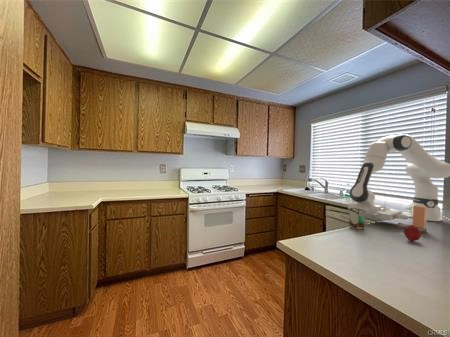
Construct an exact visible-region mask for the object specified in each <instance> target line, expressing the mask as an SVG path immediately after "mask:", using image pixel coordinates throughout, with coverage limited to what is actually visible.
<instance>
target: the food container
mask: <svg viewBox="0 0 450 337" xmlns="http://www.w3.org/2000/svg"><path fill="white" fill-rule="evenodd" d="M366 216H367V212H366V211H365V210H362V209H358V208H350V207H349V209H348V225H349V226H350V227H351V228H353V227H354V228H353V229H354V230H356V231H358V230H361V231H365V230H364V229H365V224H366V218H367V217H366Z"/></svg>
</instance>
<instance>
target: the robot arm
mask: <svg viewBox="0 0 450 337" xmlns="http://www.w3.org/2000/svg"><path fill="white" fill-rule="evenodd" d="M396 152H399V154H400V155H401V156H402V157H403V158H404V160H405V161H406V162H408V164H406V167H405V172H406V174H407V175H408V176H409V177H410V178H411V179H412V181H413V183H414V197H413V199H412V202H411V203H410V204H408V206H406V208H405V210H406V211H403V212H402V210H399V209H396V208H395V209H394V208H391V207H387V206H385V205H379V204H374V202H375V198H376V195H375V193H374V192H373V191H372V190H370V189H368V185H369V182H370V179H371V177H372V175H373V173H376V172H379V171H381V170H382V169H383V168H384V166H385V163H386V160H387V156H388V153H396ZM449 177H450V163H448V162H445V161H442V160H441V159H438V158H436V157H434V156H433V155H431V154H430V153H429V152H427V151H426V150H425V149H424V147H423V146H422V145H421V144H420V143H419V141H417V140H416V139H415V138H414V137H413V136H411V135H409V134H402V133H401V134H395V135H388V136H383V137H379V138H377V139H375V140H374V141H373V142H372V143H371V144H370V145H369V146H368V149H367V151H366V154H365V157H364V160H363V163H362V166H361V168H360V170H359V172H358V175H357V178H356V180H355V183H354V185H353V186H351V188H350V189H349V194H348V195H349V197H350V198H351V201H349V202H348V204H347V210H349V207H350V208H358V209H362V210H365V211H366V212H367V216H366V218H369V219H371V220H373V219H374V220H377V221H381V220H385V221H389V222H391V221H393V220H397V219H399V220H408V219H409V218H411V219H413V210H414V206H415V205H419V206H426V207H427V217H426V221H429V222H440V221H441V222H442V221H444V219H443V218H441V214H442V213H441V207H440V206H439V202H440V201H439V196H438V195H439V188H438V186H437V185H435V184H434V183H433V182H432V180H431V179H445V178H449Z"/></svg>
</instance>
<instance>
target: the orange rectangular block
mask: <svg viewBox="0 0 450 337" xmlns="http://www.w3.org/2000/svg"><path fill="white" fill-rule="evenodd" d="M426 217H427V207H426V206H419V205H415V206H414V210H413V218H412V224H414V226H415V227H417V228H420V229H422V228H427V220H426Z"/></svg>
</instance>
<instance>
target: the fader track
mask: <svg viewBox="0 0 450 337" xmlns="http://www.w3.org/2000/svg"><path fill="white" fill-rule="evenodd" d="M394 226H395V228H396V229H402V230H405V228H407V227H408V226H411V224H406V223H401V222H398V223H396V224H395V225H394ZM418 229H419V230H420V232H421V234H426V233H427V232H428V229H427V227H425V228H422V229H420V228H418Z"/></svg>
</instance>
